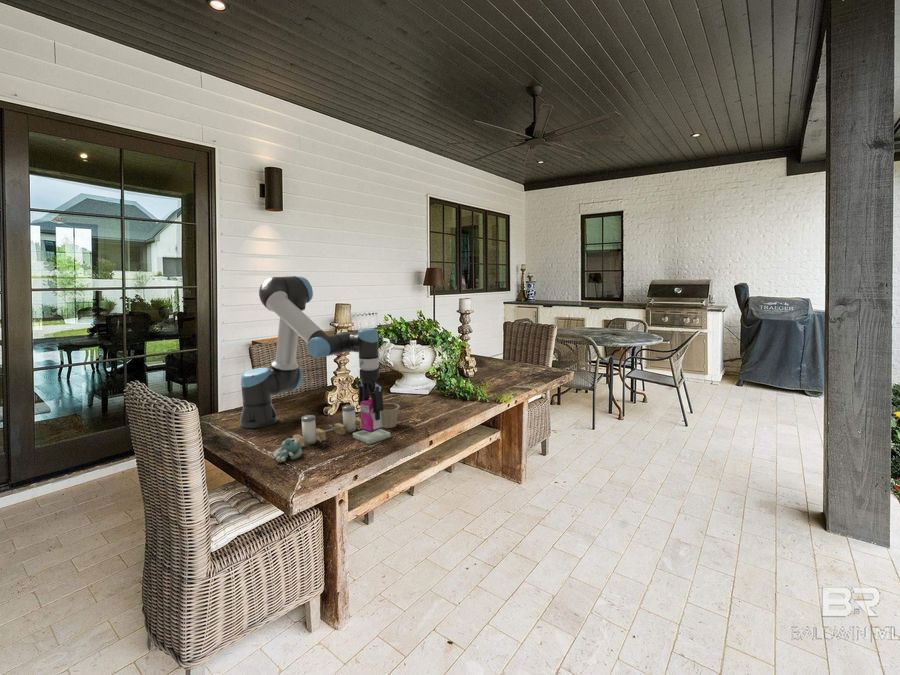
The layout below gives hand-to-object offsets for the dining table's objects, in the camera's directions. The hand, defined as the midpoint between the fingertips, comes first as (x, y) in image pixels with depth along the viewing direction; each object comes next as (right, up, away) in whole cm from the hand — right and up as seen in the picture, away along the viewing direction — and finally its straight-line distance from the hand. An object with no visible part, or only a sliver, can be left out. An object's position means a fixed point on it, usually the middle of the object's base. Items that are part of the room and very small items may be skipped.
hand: (371, 425), depth 182 cm
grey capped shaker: (-11, -4, +9) cm, 14 cm away
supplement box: (0, -2, 0) cm, 2 cm away
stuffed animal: (-27, -8, -17) cm, 33 cm away
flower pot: (+5, -3, +14) cm, 15 cm away
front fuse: (-23, -6, -4) cm, 24 cm away
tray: (0, -5, +1) cm, 5 cm away
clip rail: (-18, -4, +4) cm, 19 cm away
